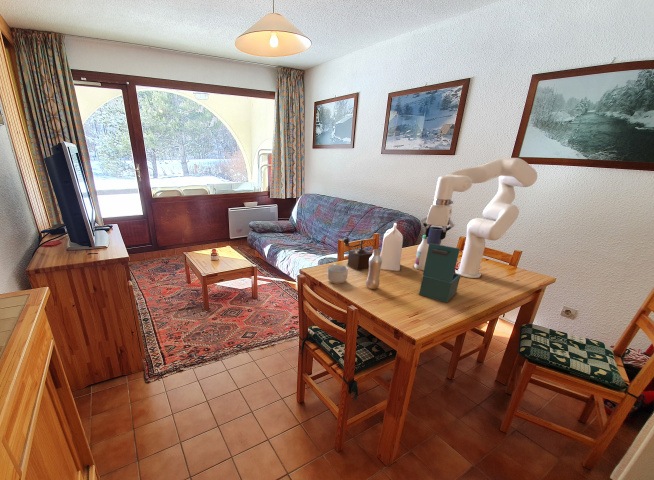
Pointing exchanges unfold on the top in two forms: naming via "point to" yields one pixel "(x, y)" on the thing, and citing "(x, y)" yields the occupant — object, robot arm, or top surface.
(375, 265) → the plastic bottle
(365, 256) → the manual coffee grinder
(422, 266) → the milk bottle
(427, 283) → the cool box
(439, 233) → the cup
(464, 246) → the robot arm
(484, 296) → the top surface
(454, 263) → the cool box lid
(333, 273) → the teacup
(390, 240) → the milk
